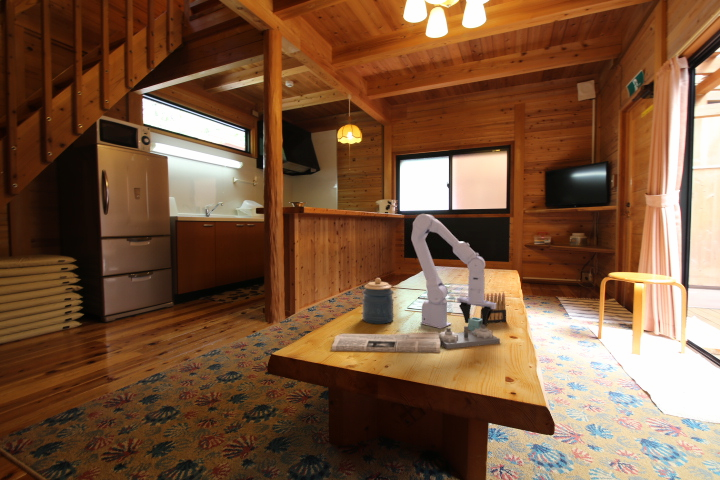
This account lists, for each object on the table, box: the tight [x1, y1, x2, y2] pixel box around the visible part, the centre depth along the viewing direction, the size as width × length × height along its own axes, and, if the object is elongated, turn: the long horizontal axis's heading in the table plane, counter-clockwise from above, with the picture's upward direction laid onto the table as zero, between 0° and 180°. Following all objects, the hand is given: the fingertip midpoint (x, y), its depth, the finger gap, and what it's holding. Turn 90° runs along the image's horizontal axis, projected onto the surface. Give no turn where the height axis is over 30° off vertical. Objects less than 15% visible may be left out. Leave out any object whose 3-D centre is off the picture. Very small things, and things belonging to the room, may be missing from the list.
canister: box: [361, 277, 395, 325], centre depth 136 cm, size 13×13×18 cm
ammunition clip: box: [479, 291, 507, 324], centre depth 132 cm, size 11×2×12 cm, turn 101°
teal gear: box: [467, 316, 482, 332], centre depth 123 cm, size 6×6×4 cm
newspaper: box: [331, 331, 441, 353], centre depth 109 cm, size 35×12×4 cm, turn 87°
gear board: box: [438, 325, 501, 350], centre depth 111 cm, size 20×9×5 cm, turn 104°
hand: (475, 324), depth 123 cm, fingers open, 6 cm apart
